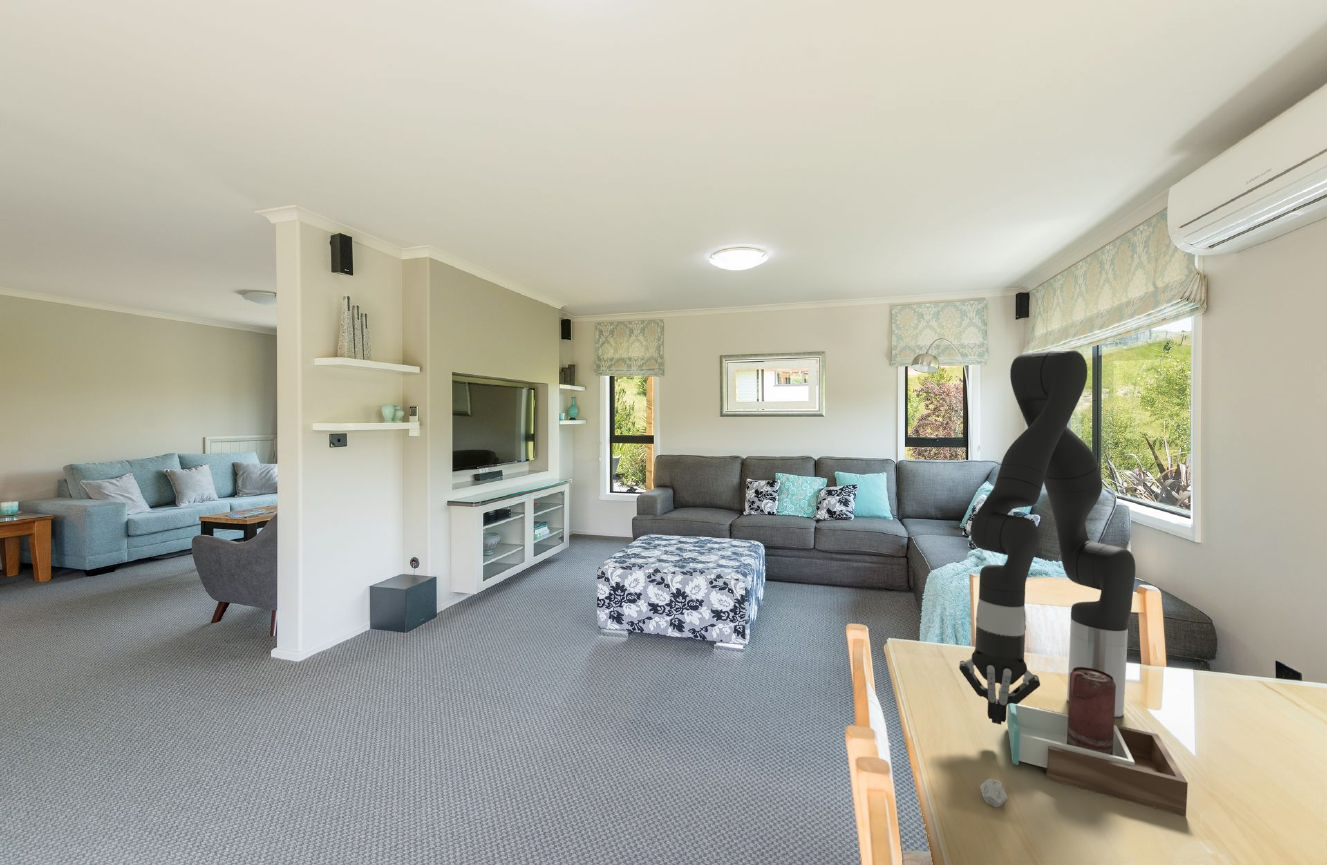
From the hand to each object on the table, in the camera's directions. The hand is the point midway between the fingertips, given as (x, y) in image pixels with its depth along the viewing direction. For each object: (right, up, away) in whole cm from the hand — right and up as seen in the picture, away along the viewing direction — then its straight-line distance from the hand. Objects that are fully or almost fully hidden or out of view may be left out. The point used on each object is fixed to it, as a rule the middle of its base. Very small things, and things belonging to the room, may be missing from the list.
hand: (996, 721), depth 102 cm
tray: (+9, -3, -5) cm, 10 cm away
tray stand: (+14, -5, -7) cm, 16 cm away
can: (+12, -3, -6) cm, 14 cm away
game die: (-10, -5, -16) cm, 19 cm away
